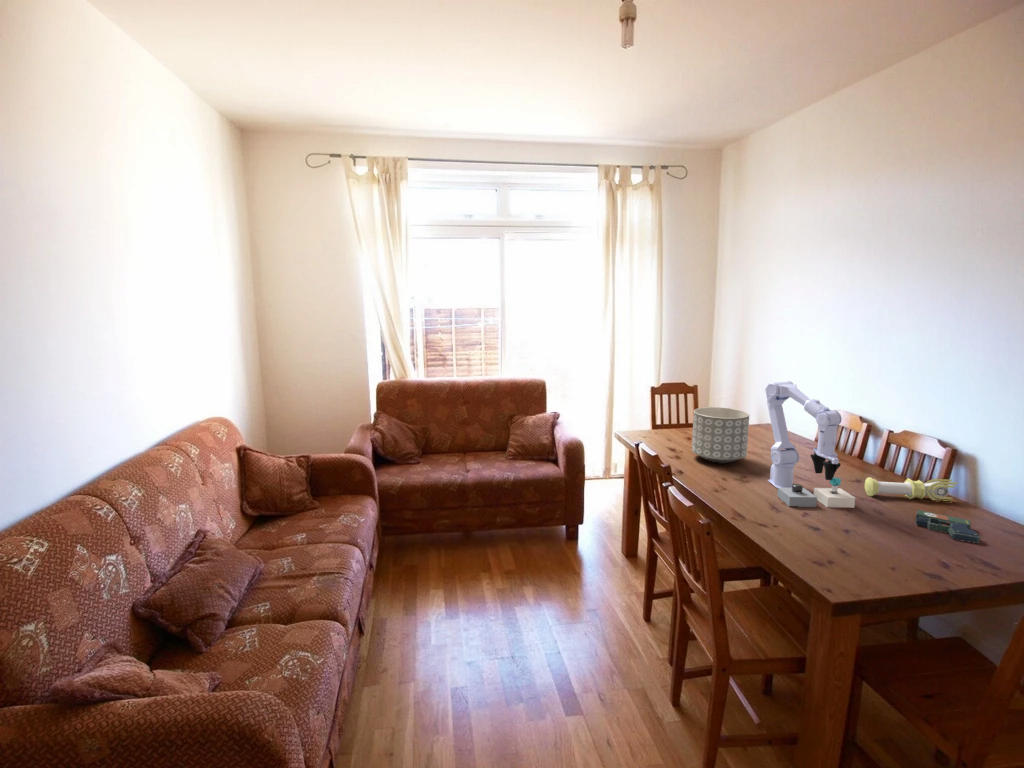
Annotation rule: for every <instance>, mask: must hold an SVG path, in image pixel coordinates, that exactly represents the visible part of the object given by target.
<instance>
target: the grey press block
mask: <svg viewBox="0 0 1024 768" xmlns="http://www.w3.org/2000/svg"><path fill="white" fill-rule="evenodd" d="M813 494H814V493H811V492H810V491H809V490H808V489H806V488H805V487H803V490H802V492H800V494H795V493H794V491H792V488H780V487H778V488H777V493H776V496H778V497H779V498H780V499H781V500H780V499H779V498H778V497H777V498H778V499H779V500H780V501H782V502H783V501H784V502H785V503H786V504H787V505H786V504H785V503H784V502H783V503H784V504H785V505H786V506H787V507H789V506H798V507H797V508H817V502H818V500H817V497H816V496H815V495H813Z"/></svg>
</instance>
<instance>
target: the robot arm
mask: <svg viewBox="0 0 1024 768" xmlns="http://www.w3.org/2000/svg"><path fill="white" fill-rule="evenodd" d="M764 390H765V395H766V405H767V408H768V413H769V418H770V419H769V420H770V423H771V429H772V434H773V439H774V444H773V445H772V446H771V448H770V460H771V462H772V464H771V466H770V472H769V473H770V474H769V475H770V476H769V479H767V482H769V483H770V484H771V485H773V486H774V487H775V488H776V489H778V487H780V488H792V484H794V483H793V481H794V480H793V479H794V473H795V472H794V470H795V469H794V468H795V467H796V464H797V463H798V462H799V460H800V453H799V452H798V450H797V447H796V445H795V444H794V443H792V442H791V441H790V437H789V433H788V432H789V431H788V427H787V423H786V422H787V421H786V418H785V412H784V408H783V404H785V402H786V401H787V400H789V399H790V398H791V399H793V401H796V402H797V403H798V404H799V405H802V406H803V409H804V411H805V412H807V413H808V415H810V416H811V417H812V418H814V419H815V421H816V424H817V429H818V436H817V447H813V449H812V453H813V454H810V458H811V460H812V464H813V467H814V473H815V474H822V473H823V471H824V477H825V480H826V481H830V480H832V479H833V477H835V474H836V472H837V470H838V469H839V468H840V466H841V463H840V461H839V460H840V459H839V458H838V457H837V456H838V453H836V451H835V450H836V442H837V431H838V426H839V425H840V424H841V423H842V416H841V413H840V412H839V411H838V410H835V409H833V410H831V409H830V408H829V407H827V406H825V405H824V404H823V403H821V401H820V400H819V399H815V398H814V399H811V398H809V396H807V395H806V394H805V393H803V391H801V390H800V389H799V388H798V386H797V384H795V383H794V382H792V381H791V380H787V381H776V382H774V381H772V382H769V383H768V384H767V386H766V387H765V389H764ZM826 460H827V461H826Z"/></svg>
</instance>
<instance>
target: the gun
mask: <svg viewBox="0 0 1024 768" xmlns="http://www.w3.org/2000/svg"><path fill="white" fill-rule="evenodd" d="M915 515H916V516H915V525H916V524H917V525H918V527H922V526H923V527H924V528H926V527H927V528H928V529H927V528H926V529H927V530H929V529H931V530H930V531H933V530H935V531H934V532H939V531H942V532H941V533H944V532H947V533H946V534H948V533H949V534H948V535H949V536H950V535H951V536H950V538H951V540H953V539H958V540H957V541H959V540H964V541H970V542H975V543H978V542H979V543H980V539H981V535H980V534H979V533H978V532H976V531H975V530H973V529H971V527H972V524H971V520H970V519H966V518H961V517H955V516H949V515H945V514H940V513H935V512H930V511H925V510H919V509H916V514H915ZM917 525H916V526H917ZM923 527H922V528H923ZM964 541H963V542H964ZM970 542H969V543H970ZM975 543H974V544H975ZM979 543H978V544H979Z"/></svg>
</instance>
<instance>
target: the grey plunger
mask: <svg viewBox="0 0 1024 768" xmlns="http://www.w3.org/2000/svg"><path fill="white" fill-rule="evenodd" d="M803 488H804V487H803V485H802V484H798V483H793V484H792V491H794V493H795V494H800V492H802V490H803Z"/></svg>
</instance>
